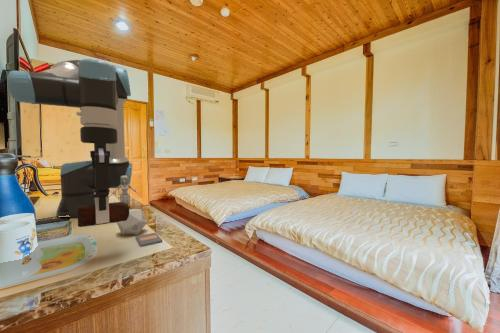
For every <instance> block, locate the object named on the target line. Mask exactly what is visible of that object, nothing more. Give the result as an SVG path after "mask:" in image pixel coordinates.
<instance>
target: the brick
mask: <svg viewBox="0 0 500 333" xmlns="http://www.w3.org/2000/svg"><path fill="white" fill-rule="evenodd" d="M129 206H130V205H128V204H127V203H124V202H120V201H116V202H109V222H108V223H102V224H96V209H95V204H87V205H80V206H78V217H77V228H78V227H79V228H84V227H90V226H91V227H92V226H99V225H107V224H113V223H116V222H120V221H126V220H127V219H128V217H129V209H130V207H129Z"/></svg>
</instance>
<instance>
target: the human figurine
mask: <svg viewBox="0 0 500 333" xmlns="http://www.w3.org/2000/svg"><path fill="white" fill-rule="evenodd" d="M128 182H129V180H128V176H121V185H119V187H118V188H116V189H115V190H113V191H112V193H111V194H109V195H108V196H109V198H110V197H111V196H113V195H115V193H116V192H117V191H118V190H121V192H122V193H120V194H119V202H124V203H127V204H128V206H130V200H131V195H130V193H128V191H129V189H131V190H132V191H133V192H135V193H136V194H137V195H139V196H140V197H142V195H141V194H140V193H139V192H138V191H137V190H136V189H134V188H133V187H132V186H131V185H130V184H128Z"/></svg>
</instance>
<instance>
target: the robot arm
mask: <svg viewBox="0 0 500 333" xmlns="http://www.w3.org/2000/svg"><path fill="white" fill-rule="evenodd" d="M6 80H7V81H6V83H7V89H8V92H9V95H10V96H11V97H12V99H13V100H14V101H16V102H18V103H26V104H31V105H46V106H59V107H68V108H78V109H79V111H76V113H75V114H76V116H78V117H79V122H80V123H79V124H81V125H82V126H81V128H80V130H79V133H80V136H79V137H80V142H81V143H83V144H93V148H94V149H93V150H90V151H89V152H90V153H89V154H90V158H91V160H84V161H83V160H82V161H74V162H67V163H63V164H61V166H60V174H59V176H60V193H61V199H60V201H59V204H58V206H57V210H56V217H57V216H66V215H69V216H70V218H69V219H74V218H75V219H76V218H77V219H78V206H80V205H87V204H95V209H96V224H101V225H103V224H102V223H108V222H109V203H110V202H109V199H110V197H109V196H110V192H111V191H110V189H117V188H118V187H119V185H121V176H128V180H129V182H128V184H129V185H130V184H131V179H132V171H133V170H132V169H133V163H131V162H130V160H129V158H128V157H127V156H126V150H125V149H126V148H125V146H126V144H125V143H126V142H125V111H124V110H125V109H124V108H125V107H124V104H125V103H126V102H127V101H128V97H131V95H132V93H131V87H130V86H131V84H130V79H129V73H128V71H127V69H126V68H125V67H123V66H118V65H116V64H115V65H114V64H110V63H109V62H107V61H103V60H99V59H93V58H84V59H72V60H64V61H60V62H59V61H58V62H56V63H54V64H53V66H52V67H51V68H48V69H45V70H42V71H38V72H31V71H28V70H24V71H23V70H11V71H10V72H8V74H7V79H6ZM108 224H109V223H108Z"/></svg>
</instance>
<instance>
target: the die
mask: <svg viewBox="0 0 500 333" xmlns="http://www.w3.org/2000/svg"><path fill="white" fill-rule="evenodd" d="M115 223H116V225H117V226H118V229H119V230H120V232H121V235H139V234H140V233H141V231H142V230H143V229H144V228H145V226H146V225H147V224H148V220H147V218H146V215H145V214H144V212H143V209H142V208H141V209H140V208H139V209H138V208H137V209H135V208H134V209H133V208H132V209H130V208H129V217H128V219H127V220H126V221H120V222H115Z"/></svg>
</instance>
